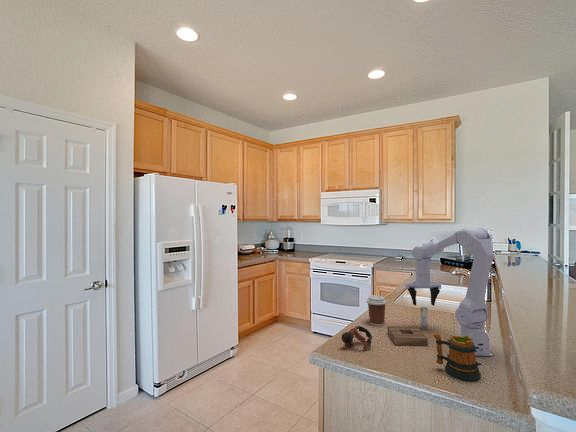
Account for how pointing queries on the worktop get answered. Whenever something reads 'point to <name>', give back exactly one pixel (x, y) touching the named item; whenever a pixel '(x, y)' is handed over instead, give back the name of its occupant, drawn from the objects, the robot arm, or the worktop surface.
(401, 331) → the hole block
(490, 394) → the worktop surface
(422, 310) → the peg
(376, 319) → the coffee cup
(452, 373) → the mug
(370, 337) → the brown curled shape
